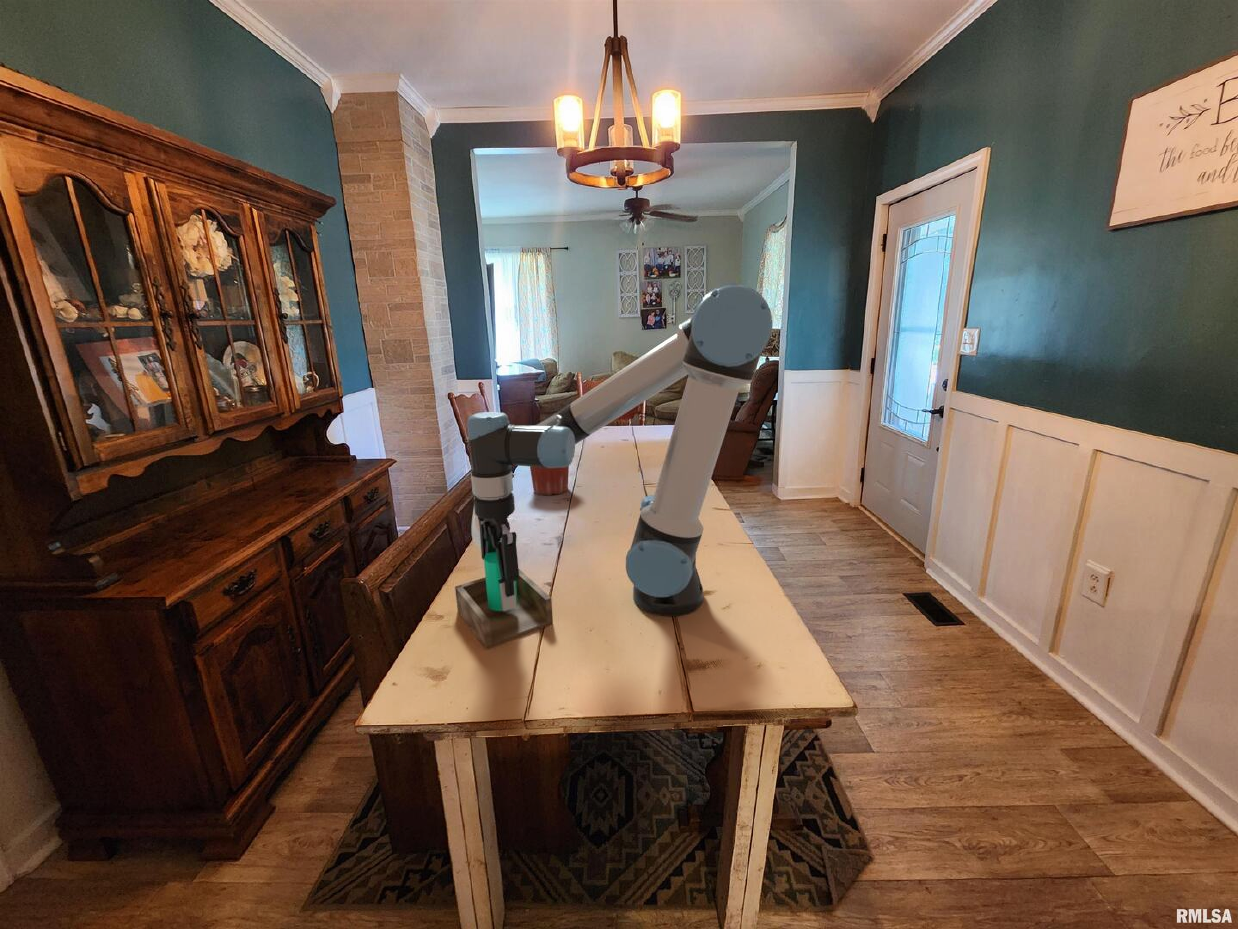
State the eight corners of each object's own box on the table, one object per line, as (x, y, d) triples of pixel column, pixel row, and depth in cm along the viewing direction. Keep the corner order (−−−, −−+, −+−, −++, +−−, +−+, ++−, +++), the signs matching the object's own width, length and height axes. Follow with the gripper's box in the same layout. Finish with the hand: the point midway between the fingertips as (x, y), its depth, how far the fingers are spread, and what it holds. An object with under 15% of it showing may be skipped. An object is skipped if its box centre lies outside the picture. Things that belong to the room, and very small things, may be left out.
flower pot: (524, 485, 189) (521, 443, 185) (568, 481, 194) (566, 439, 189) (531, 500, 174) (527, 454, 169) (578, 494, 179) (576, 449, 174)
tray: (552, 623, 103) (551, 598, 102) (485, 649, 95) (483, 621, 94) (519, 591, 116) (517, 567, 114) (457, 611, 108) (454, 586, 107)
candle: (519, 594, 108) (516, 542, 104) (515, 610, 102) (511, 555, 99) (490, 595, 108) (486, 542, 104) (484, 611, 102) (479, 556, 98)
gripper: (533, 503, 93) (540, 616, 99) (493, 478, 108) (501, 577, 114) (493, 512, 89) (503, 629, 95) (457, 485, 104) (468, 587, 110)
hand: (502, 601), depth 105 cm, fingers closed on candle, 6 cm apart
